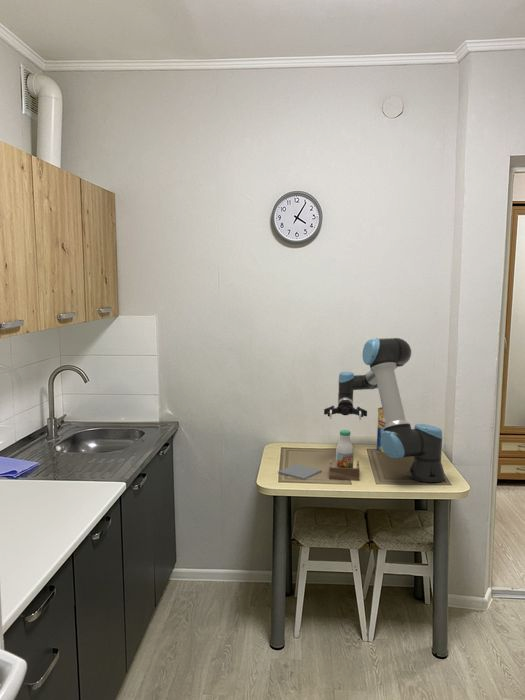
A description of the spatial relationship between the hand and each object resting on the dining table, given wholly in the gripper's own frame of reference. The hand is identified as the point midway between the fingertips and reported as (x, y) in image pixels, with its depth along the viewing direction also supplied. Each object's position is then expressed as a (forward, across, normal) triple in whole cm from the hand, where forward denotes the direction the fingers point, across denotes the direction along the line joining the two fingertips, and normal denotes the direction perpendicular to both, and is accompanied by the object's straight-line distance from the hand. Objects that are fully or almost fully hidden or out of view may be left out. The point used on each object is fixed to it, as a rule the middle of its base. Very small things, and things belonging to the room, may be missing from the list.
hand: (345, 416), depth 268 cm
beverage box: (-26, -23, -24) cm, 42 cm away
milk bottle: (+13, 0, -24) cm, 27 cm away
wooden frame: (+13, 0, -23) cm, 27 cm away
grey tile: (+13, +20, -24) cm, 33 cm away
